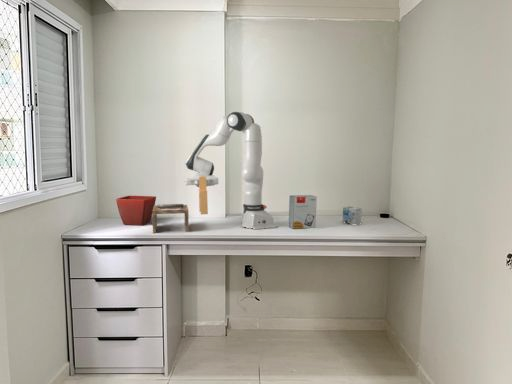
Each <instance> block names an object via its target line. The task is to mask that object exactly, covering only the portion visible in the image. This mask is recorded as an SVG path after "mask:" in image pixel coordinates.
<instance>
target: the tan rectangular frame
mask: <svg viewBox="0 0 512 384" xmlns="http://www.w3.org/2000/svg"><path fill="white" fill-rule="evenodd" d="M167 214H168V215H169V214H170V215H171V214H173V215H174V214H175V215H176V214H177V215H179V214H184V228H185V232H186V233H189V229H190V228H189V227H190V226H189V223H190V222H189V207H188V205H187V204H184V203H172V204H171V203H167V204H165V203H164V204H163V203H162V204H160V203H158V204H157V205H156V204H155V205H154V207H153V214H152V234H156V233H157V228H158V220H157V219H158V216H157V215H167Z"/></svg>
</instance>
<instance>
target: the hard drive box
mask: <svg viewBox="0 0 512 384" xmlns="http://www.w3.org/2000/svg"><path fill="white" fill-rule="evenodd" d="M317 199H318V197H317V196H315V195H313V194H312V195H311V194H309V195H307V194H304V195H303V194H302V195H301V194H299V195H298V194H297V195H295V194H294V195H293V194H292V195H289V205H288V227H289V228H291V229H293V230H294V229H297V230H298V229H315V228H316V219H317V204H318V203H317Z"/></svg>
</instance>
